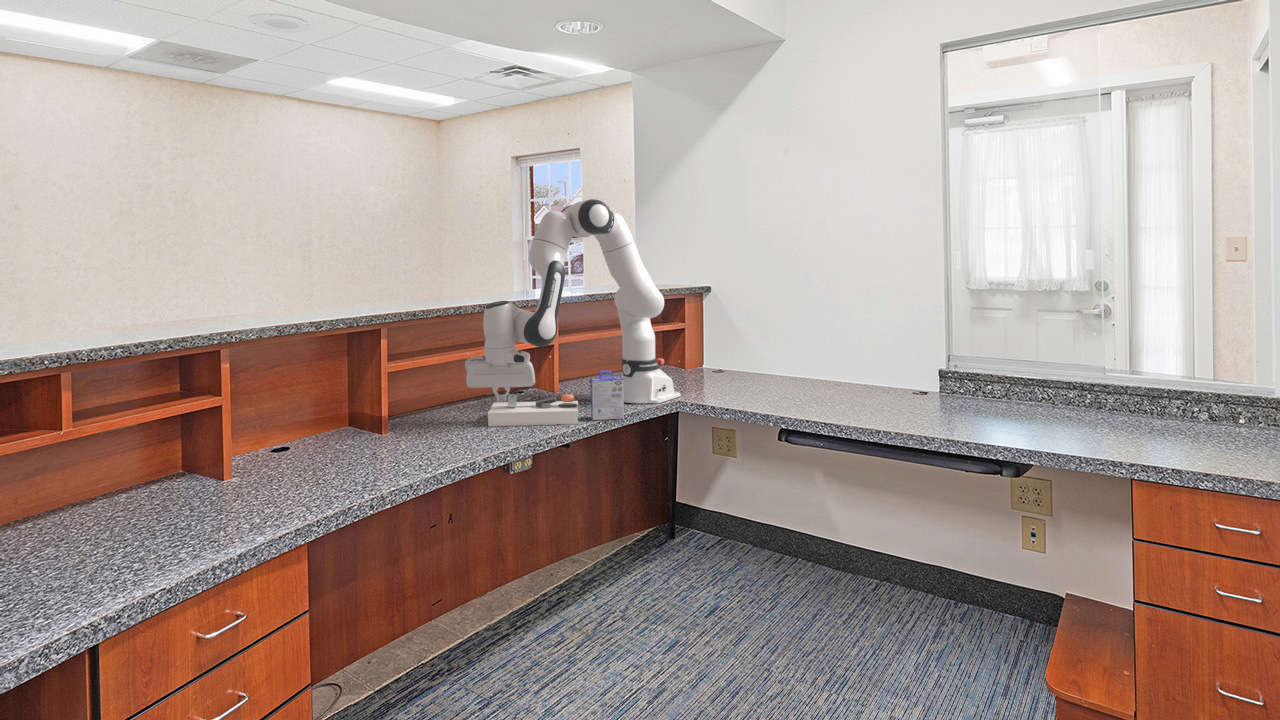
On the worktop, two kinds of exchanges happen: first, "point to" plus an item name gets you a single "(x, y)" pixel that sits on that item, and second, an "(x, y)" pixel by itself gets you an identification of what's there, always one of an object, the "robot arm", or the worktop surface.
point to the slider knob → (512, 400)
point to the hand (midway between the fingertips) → (501, 401)
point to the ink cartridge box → (607, 397)
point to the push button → (567, 398)
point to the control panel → (533, 414)
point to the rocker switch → (546, 401)
